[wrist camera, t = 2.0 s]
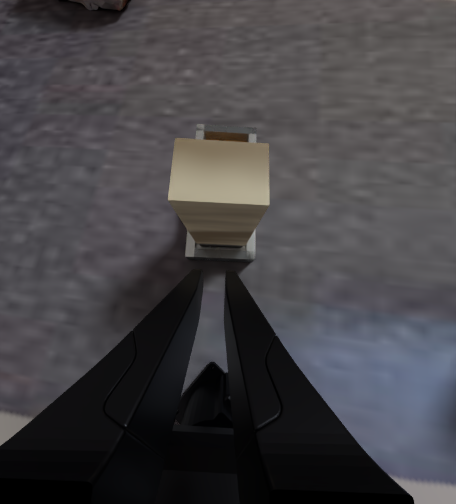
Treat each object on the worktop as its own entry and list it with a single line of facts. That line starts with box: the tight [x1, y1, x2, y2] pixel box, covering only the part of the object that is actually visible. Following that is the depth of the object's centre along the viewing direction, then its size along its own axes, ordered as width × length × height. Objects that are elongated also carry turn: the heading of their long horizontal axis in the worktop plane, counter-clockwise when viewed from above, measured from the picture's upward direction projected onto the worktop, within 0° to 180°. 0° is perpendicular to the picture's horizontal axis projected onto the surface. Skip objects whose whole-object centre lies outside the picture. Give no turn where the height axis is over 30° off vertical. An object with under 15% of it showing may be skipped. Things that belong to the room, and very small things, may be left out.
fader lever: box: [168, 138, 269, 248], centre depth 15 cm, size 4×6×11 cm
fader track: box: [185, 124, 256, 262], centre depth 22 cm, size 18×8×2 cm, turn 178°
